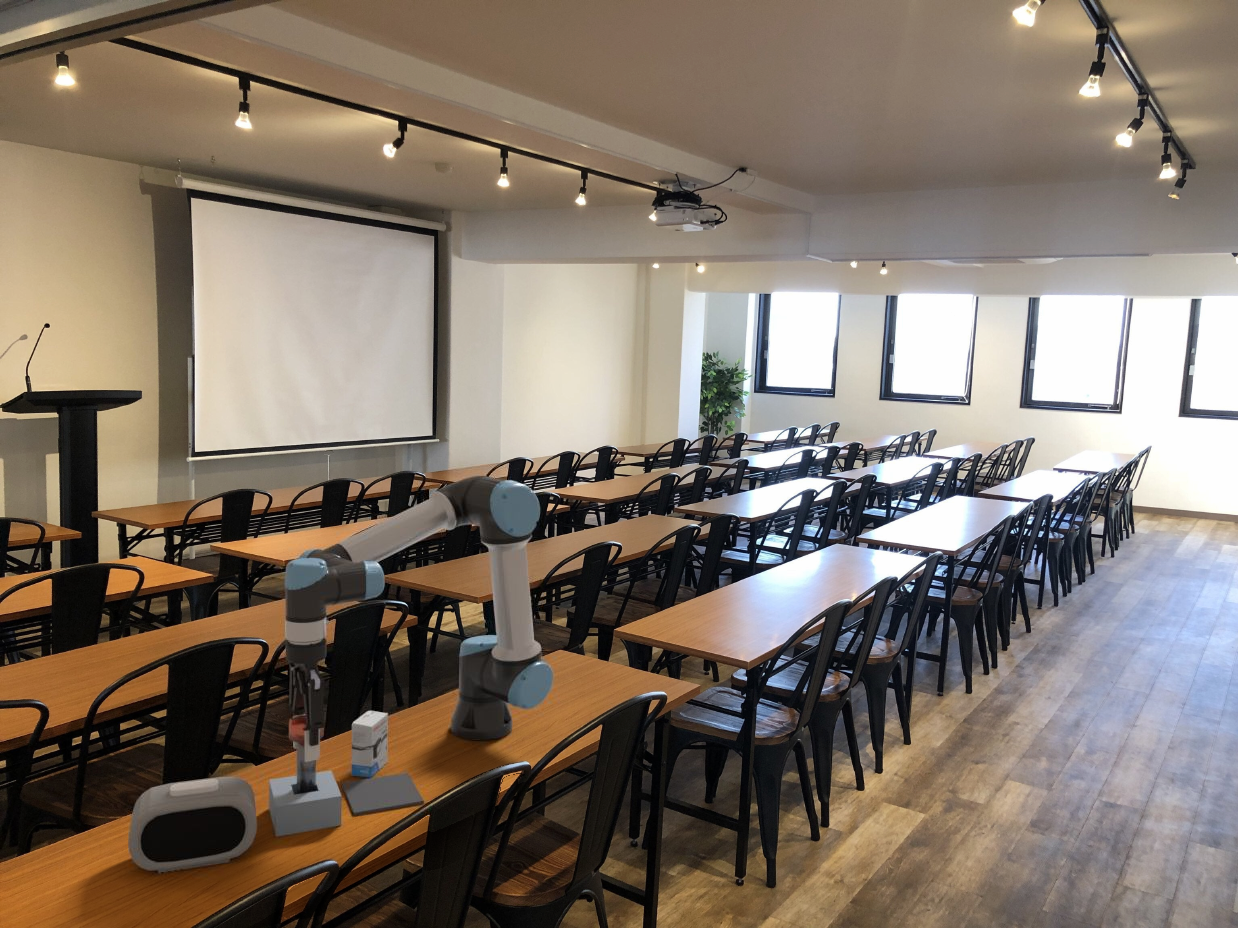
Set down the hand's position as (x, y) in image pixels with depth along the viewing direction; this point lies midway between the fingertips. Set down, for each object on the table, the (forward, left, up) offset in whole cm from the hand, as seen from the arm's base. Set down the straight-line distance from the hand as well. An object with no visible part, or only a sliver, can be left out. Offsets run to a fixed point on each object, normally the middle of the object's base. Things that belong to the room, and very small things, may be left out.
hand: (306, 752), depth 182 cm
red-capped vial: (0, 0, -8) cm, 8 cm away
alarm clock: (+20, +8, -13) cm, 26 cm away
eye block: (0, 0, -13) cm, 13 cm away
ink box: (-16, -17, -13) cm, 27 cm away
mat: (-16, -4, -13) cm, 21 cm away
